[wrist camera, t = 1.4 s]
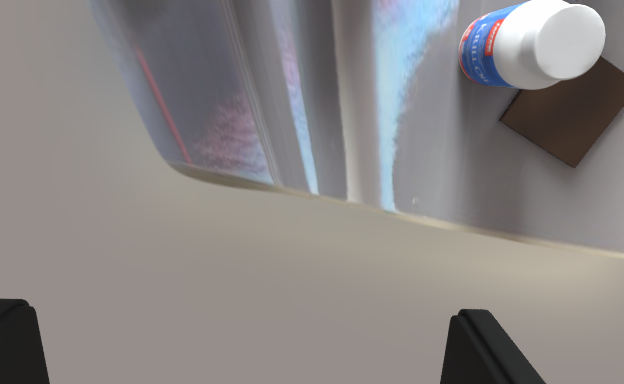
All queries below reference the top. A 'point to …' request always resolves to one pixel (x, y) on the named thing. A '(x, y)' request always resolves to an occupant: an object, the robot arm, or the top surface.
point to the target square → (569, 111)
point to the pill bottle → (532, 44)
